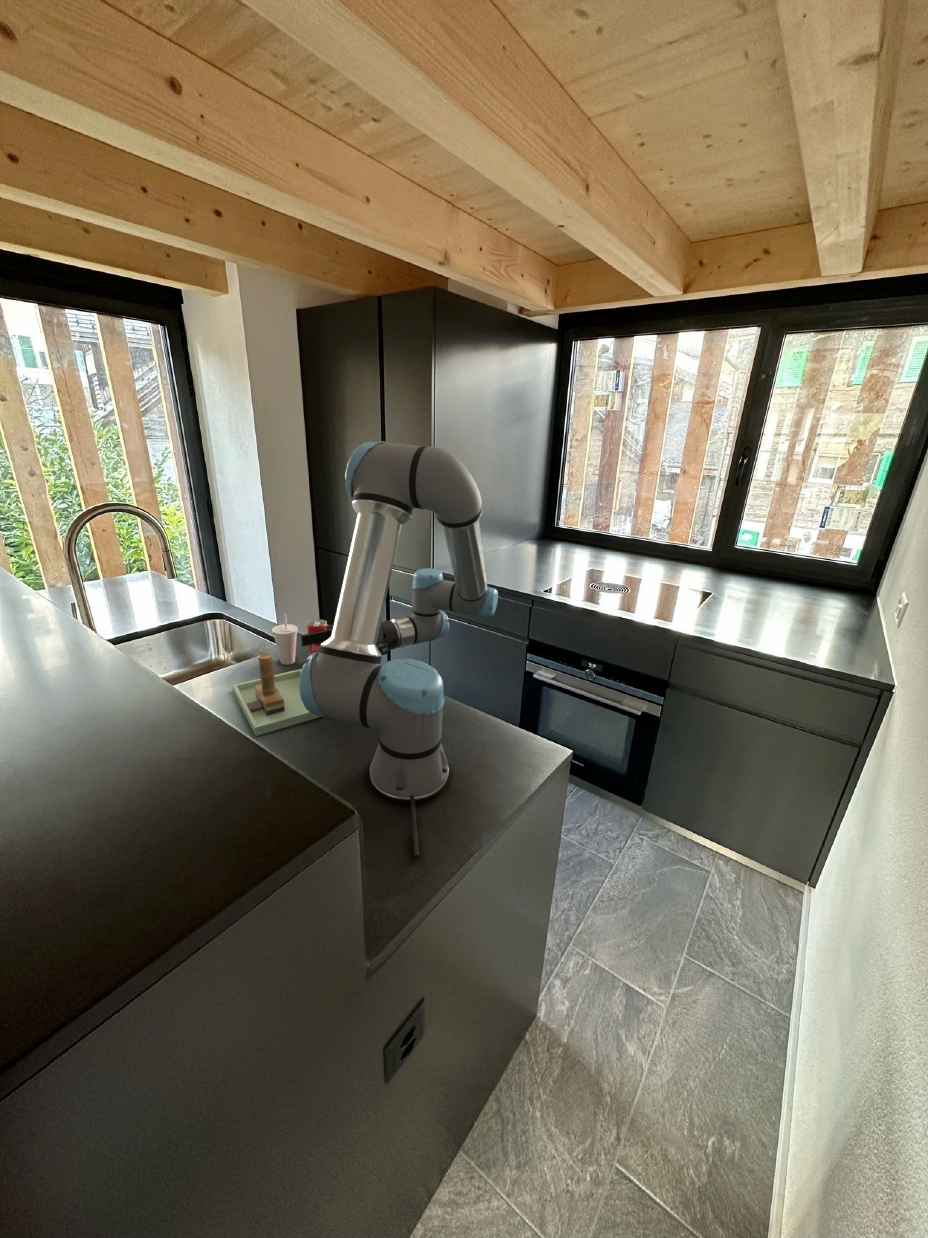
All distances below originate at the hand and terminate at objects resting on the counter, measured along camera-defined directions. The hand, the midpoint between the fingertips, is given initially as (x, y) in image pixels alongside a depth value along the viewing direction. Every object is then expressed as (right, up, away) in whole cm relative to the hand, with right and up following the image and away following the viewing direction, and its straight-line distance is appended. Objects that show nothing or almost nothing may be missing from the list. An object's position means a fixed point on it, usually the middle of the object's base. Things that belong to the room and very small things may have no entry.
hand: (311, 652), depth 120 cm
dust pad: (-12, -13, -3) cm, 18 cm away
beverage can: (-3, -4, +19) cm, 19 cm away
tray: (-7, -12, 0) cm, 14 cm away
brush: (-9, -12, -1) cm, 15 cm away
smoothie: (-12, -4, +19) cm, 22 cm away
